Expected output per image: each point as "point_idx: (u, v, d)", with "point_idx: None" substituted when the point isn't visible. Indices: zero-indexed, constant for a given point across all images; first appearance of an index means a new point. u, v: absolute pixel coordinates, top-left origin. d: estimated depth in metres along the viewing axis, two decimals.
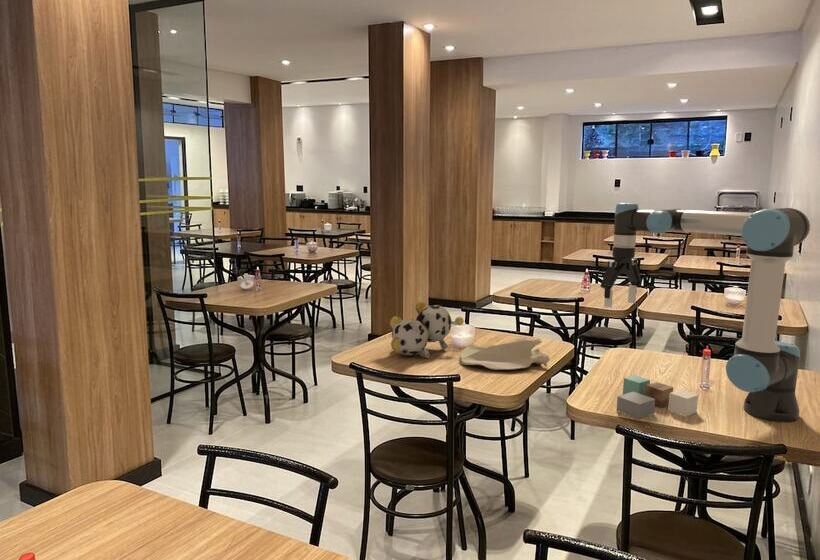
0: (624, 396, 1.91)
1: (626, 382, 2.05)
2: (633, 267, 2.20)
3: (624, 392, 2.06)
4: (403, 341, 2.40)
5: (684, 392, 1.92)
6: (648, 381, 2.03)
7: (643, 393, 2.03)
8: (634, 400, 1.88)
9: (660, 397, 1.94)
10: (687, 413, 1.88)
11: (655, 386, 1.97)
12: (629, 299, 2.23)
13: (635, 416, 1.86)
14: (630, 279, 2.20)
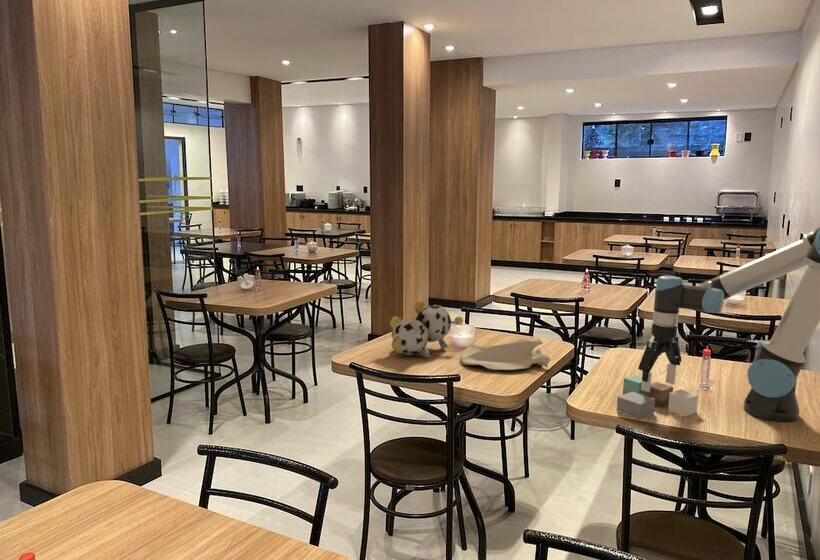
0: (624, 396, 1.91)
1: (625, 382, 2.05)
2: (673, 345, 1.99)
3: (624, 392, 2.06)
4: (404, 341, 2.40)
5: (684, 392, 1.92)
6: None
7: (643, 393, 2.03)
8: (634, 400, 1.88)
9: (660, 397, 1.94)
10: (687, 413, 1.88)
11: (655, 386, 1.97)
12: (667, 379, 2.02)
13: (636, 416, 1.86)
14: (670, 357, 1.99)
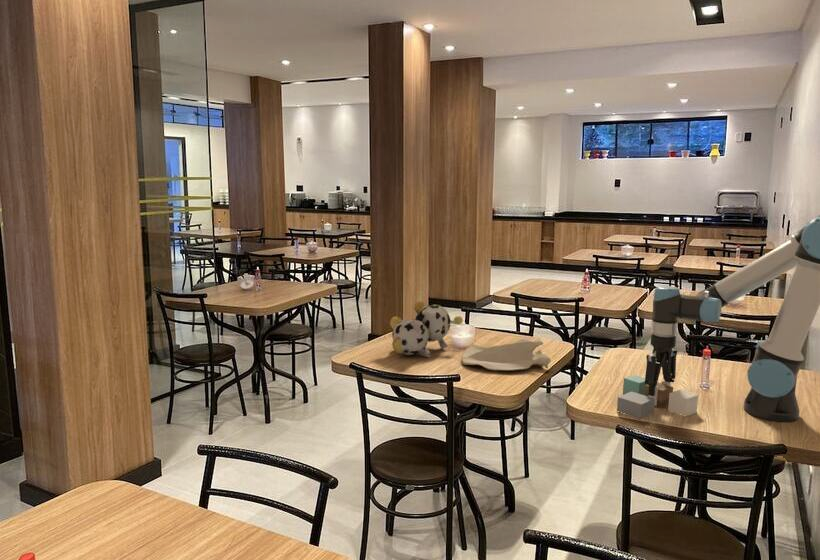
0: (624, 396, 1.91)
1: (626, 382, 2.05)
2: (671, 358, 1.99)
3: (624, 392, 2.06)
4: (405, 341, 2.40)
5: (684, 392, 1.92)
6: None
7: (643, 393, 2.03)
8: (635, 400, 1.88)
9: (660, 397, 1.94)
10: (687, 413, 1.88)
11: None
12: None
13: (636, 416, 1.86)
14: (665, 372, 1.98)
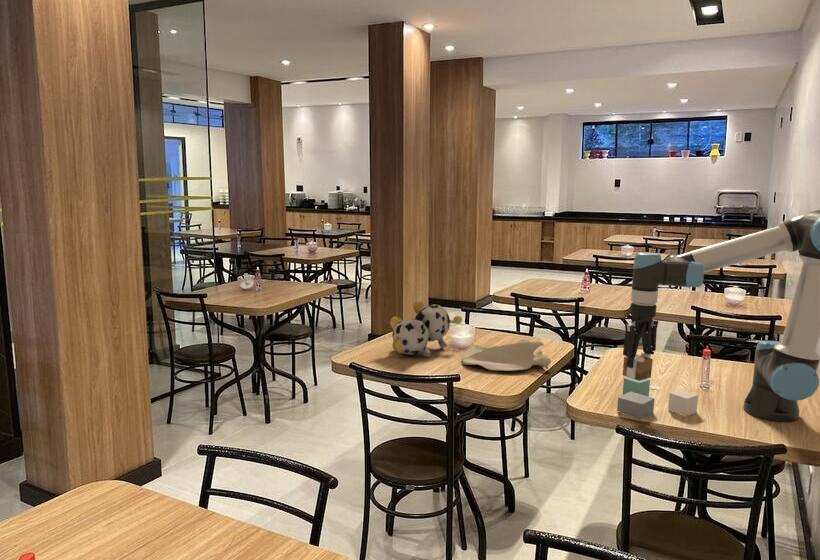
0: (624, 396, 1.91)
1: (625, 382, 2.05)
2: (651, 329, 1.89)
3: (624, 392, 2.06)
4: (405, 341, 2.40)
5: (684, 392, 1.92)
6: (648, 381, 2.03)
7: (643, 393, 2.03)
8: (635, 400, 1.88)
9: (638, 369, 1.85)
10: (687, 413, 1.88)
11: None
12: None
13: (637, 416, 1.86)
14: (645, 344, 1.89)
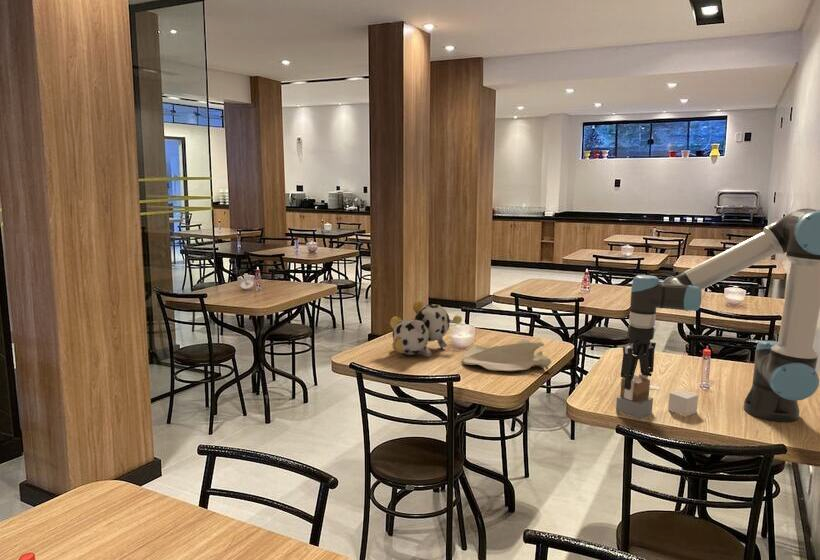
0: None
1: None
2: (649, 351, 1.90)
3: None
4: (406, 341, 2.40)
5: (684, 392, 1.92)
6: None
7: None
8: None
9: (636, 390, 1.86)
10: (687, 413, 1.88)
11: None
12: None
13: (636, 416, 1.86)
14: (642, 365, 1.90)
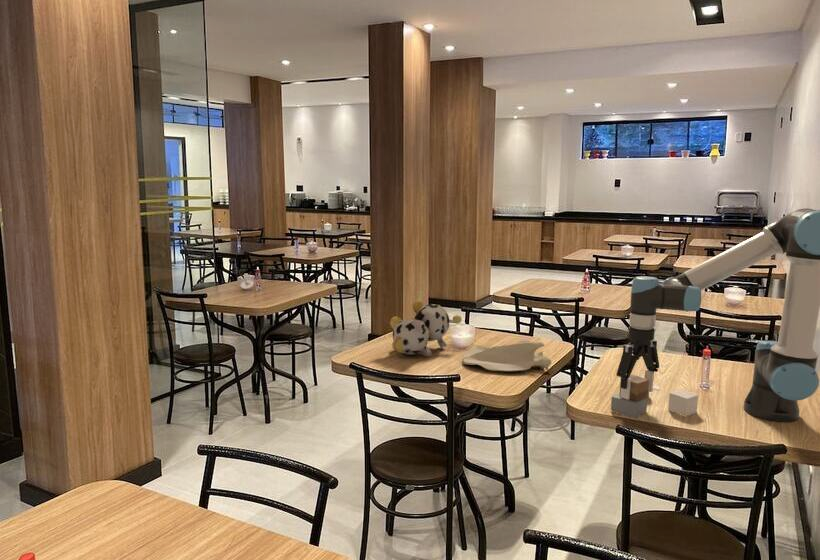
0: (618, 396, 1.91)
1: None
2: (651, 349, 1.91)
3: None
4: (406, 341, 2.40)
5: (684, 392, 1.92)
6: None
7: None
8: None
9: (635, 390, 1.86)
10: (687, 413, 1.88)
11: None
12: None
13: (631, 415, 1.87)
14: (647, 363, 1.91)
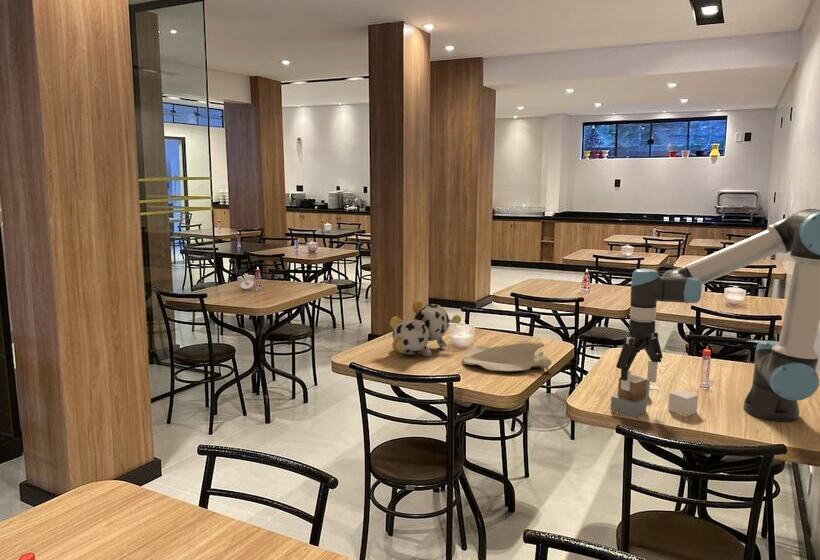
0: (617, 396, 1.91)
1: None
2: (653, 341, 1.90)
3: None
4: (406, 341, 2.40)
5: (684, 392, 1.92)
6: (648, 381, 2.03)
7: None
8: None
9: (633, 390, 1.86)
10: (687, 413, 1.88)
11: None
12: (649, 377, 1.93)
13: (631, 415, 1.87)
14: (650, 354, 1.91)
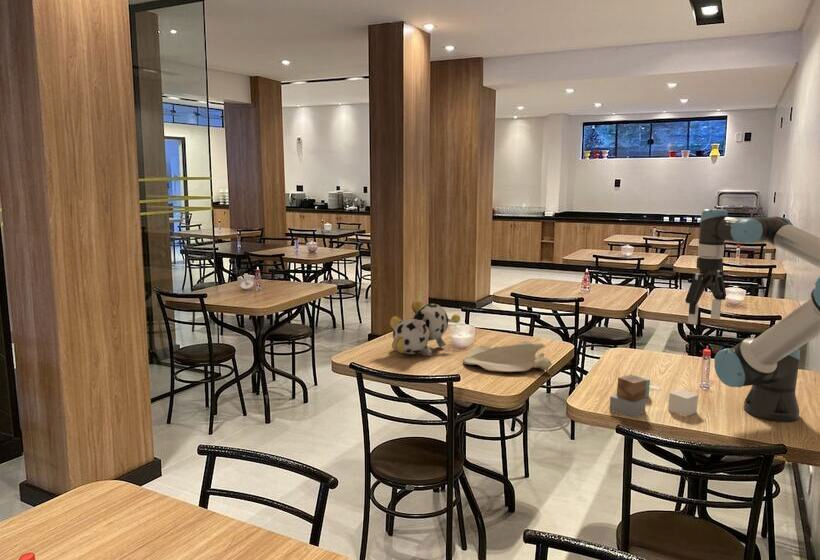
0: (616, 396, 1.91)
1: None
2: (718, 279, 2.00)
3: None
4: (407, 340, 2.41)
5: (684, 392, 1.92)
6: (648, 381, 2.03)
7: None
8: None
9: (631, 390, 1.86)
10: (687, 413, 1.88)
11: (627, 379, 1.89)
12: (712, 314, 2.03)
13: (630, 415, 1.87)
14: (715, 292, 2.00)
